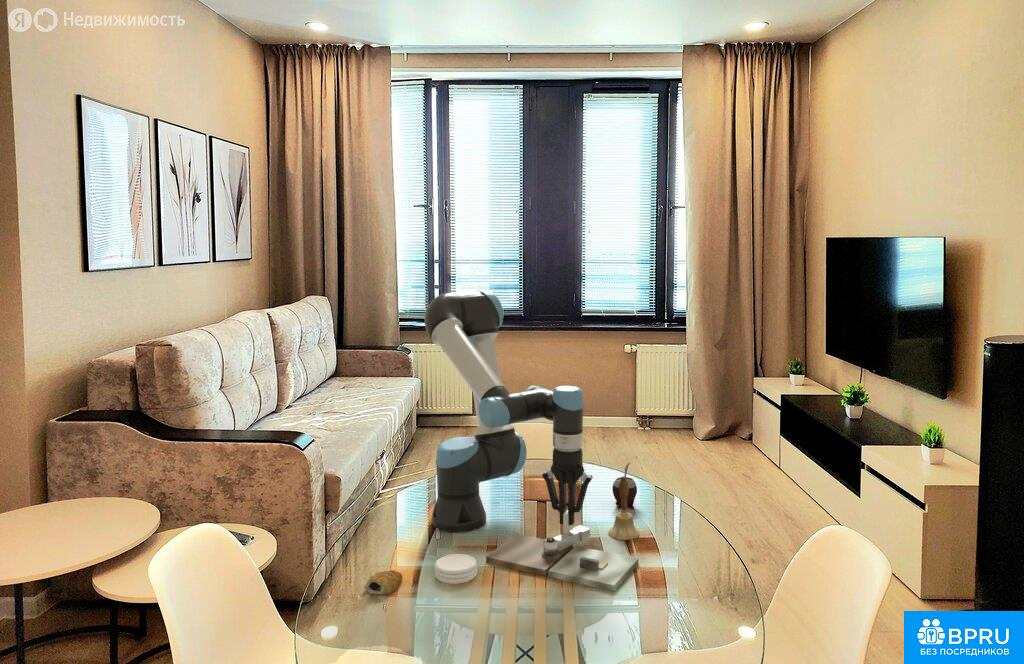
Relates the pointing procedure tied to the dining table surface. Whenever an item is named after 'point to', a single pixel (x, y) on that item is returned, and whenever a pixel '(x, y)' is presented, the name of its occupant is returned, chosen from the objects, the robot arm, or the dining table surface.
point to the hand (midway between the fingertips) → (566, 536)
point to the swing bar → (565, 540)
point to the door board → (564, 562)
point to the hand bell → (624, 517)
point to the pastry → (384, 582)
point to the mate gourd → (631, 492)
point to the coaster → (455, 568)
